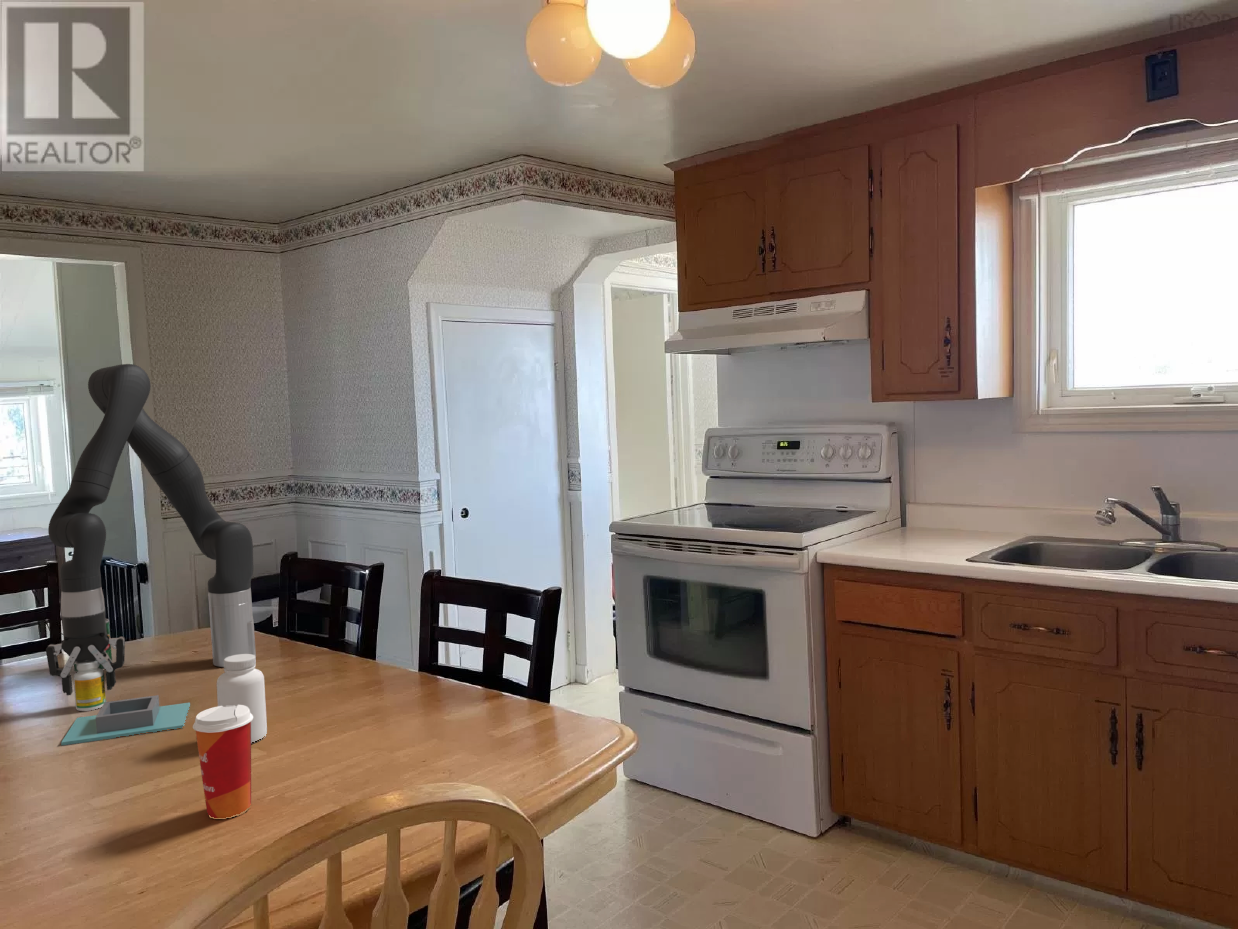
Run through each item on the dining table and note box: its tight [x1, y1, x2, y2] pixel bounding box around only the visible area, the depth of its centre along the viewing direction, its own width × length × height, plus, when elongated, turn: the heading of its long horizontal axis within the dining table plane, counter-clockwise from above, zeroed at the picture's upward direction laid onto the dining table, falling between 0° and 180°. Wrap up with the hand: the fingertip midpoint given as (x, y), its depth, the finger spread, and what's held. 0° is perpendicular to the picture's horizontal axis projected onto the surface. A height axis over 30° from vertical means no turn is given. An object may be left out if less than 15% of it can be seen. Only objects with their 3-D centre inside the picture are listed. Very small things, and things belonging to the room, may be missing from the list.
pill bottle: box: [216, 654, 268, 744], centre depth 165 cm, size 8×8×15 cm
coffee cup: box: [192, 705, 253, 818], centre depth 135 cm, size 8×8×15 cm
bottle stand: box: [61, 694, 191, 747], centre depth 175 cm, size 20×14×4 cm
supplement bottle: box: [73, 659, 107, 712], centre depth 185 cm, size 5×5×10 cm
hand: (89, 691), depth 185 cm, fingers open, 6 cm apart
